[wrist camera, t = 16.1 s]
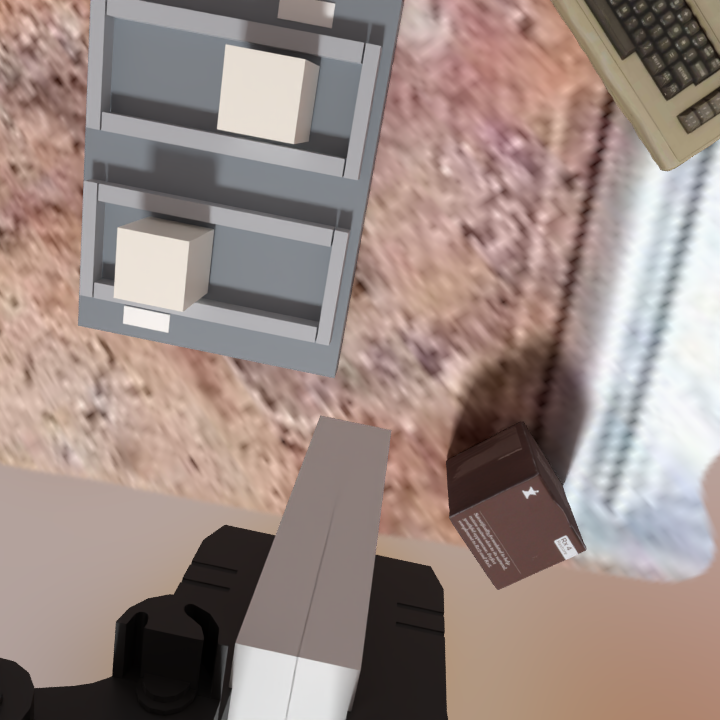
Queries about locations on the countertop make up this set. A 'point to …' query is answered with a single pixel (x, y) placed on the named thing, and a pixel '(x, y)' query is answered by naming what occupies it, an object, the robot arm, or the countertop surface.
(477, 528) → the box
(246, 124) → the tab
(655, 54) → the computer
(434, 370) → the countertop surface
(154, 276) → the tab
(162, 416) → the countertop surface
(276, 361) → the grey compartment tray
